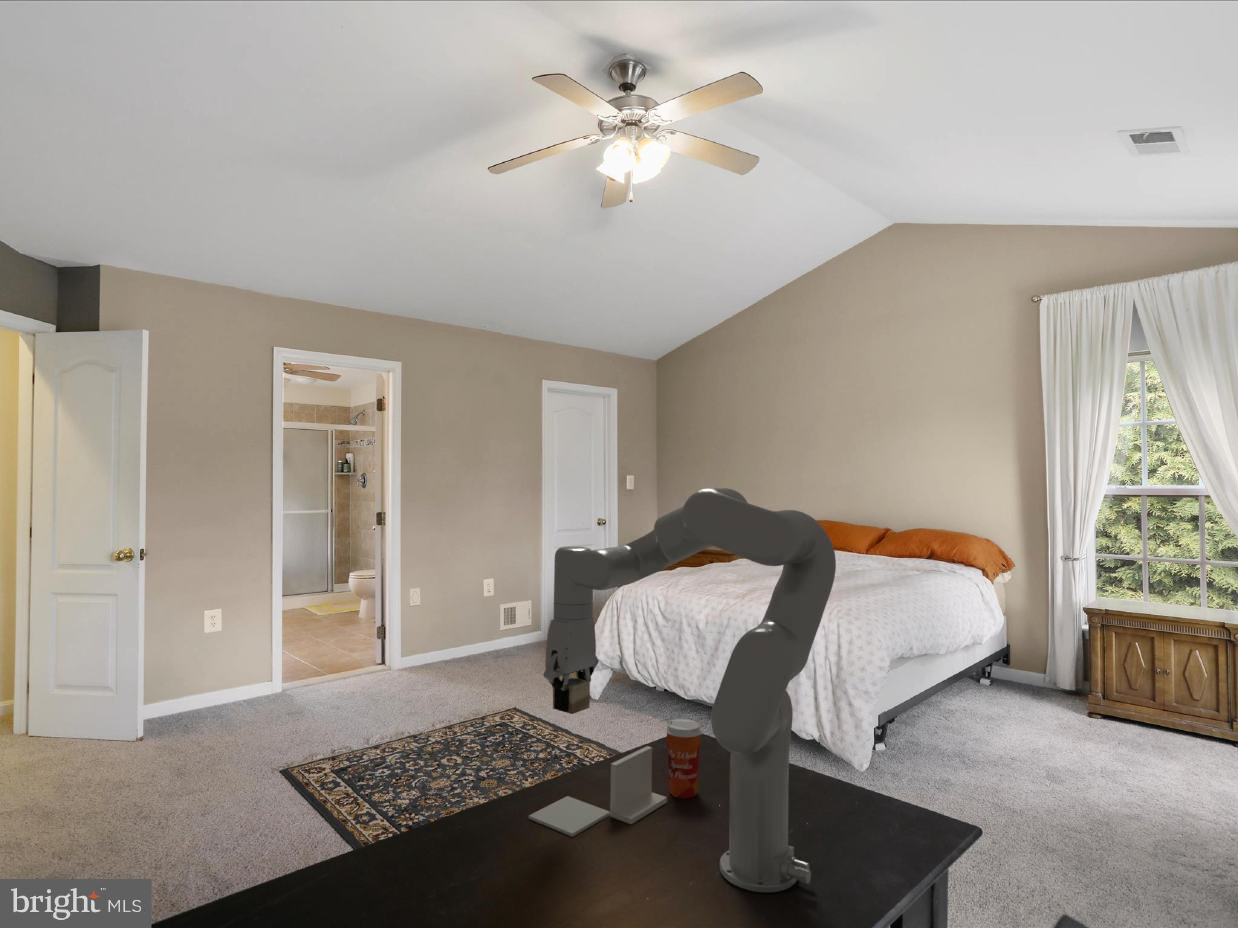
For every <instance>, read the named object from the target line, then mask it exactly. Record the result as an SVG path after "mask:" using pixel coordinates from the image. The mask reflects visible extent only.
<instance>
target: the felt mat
mask: <svg viewBox="0 0 1238 928" xmlns="http://www.w3.org/2000/svg"><path fill="white" fill-rule="evenodd" d="M609 816H610V811H609V810H606V809H605V808H604V809H603V808H601V807H598V806H595V805H593V804H590V803H588V802H585V801H582V800H581V799H577V798H574V797H572V796H569V795H567V796H565V797H563V798H561V799H559V800H557V801H554V802H553V803H550V804H548V805H547V806H544V807H543V808H541V809H539V810H537V811H535V812H533V813H531V814H529V815H528V819H529V820H531V821H534V822H535V823H538V824H541V825H542V826H546V827H548V828H550V829H552V830H555V831H557V832H560V833H562V834H565V835H567V836H569V837H571V838H573V837H575V836H576V835H579V834H580V833H581V832H583V831H585V830H587V829H588V828H590V827H592V826H594V825H596V824H597V823H599V822H601V821H603V820H604V819H607V818H608V817H609Z"/></svg>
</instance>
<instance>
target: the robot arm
mask: <svg viewBox="0 0 1238 928" xmlns="http://www.w3.org/2000/svg"><path fill="white" fill-rule="evenodd" d="M711 547H714V548H715V547H716V548H718V549H721V550H722V551H726V552H728V553H730V554H733V555H736V556H737V557H741V558H743V559H745V560H748V561H751V562H753V563H756V564H759V565H763V566H766V567H767V566H768V567H781V566H782V571H781V575H780V576H779V578H778V580H777V582H776V584H775V586H774V589H773V591H772V595H771V598H770V601H769V603H768V605H767V609H766V611H765V614H764V615H763V618H762V619H761V622H760V623H759V624H757V626H756V627H753V628H751V629H750V630H748V631H746V632H745V633H744V634H743V635H742V637H740V638H739V640H738V641H737V643H736V644H735V646H734V648H733V649H732V651H731V655H730V657H729V660H728V662H727V665H726V668H725V671H724V674H723V676H722V679H721V682H720V685H719V688H718V691H717V693H716V696H715V699H714V702H713V705H712V709H711V713H710V714H711V716H710V723H711V729H712V732H713V735H714V737H715V739H716V741H717V742H718V744H719V746H721V747H722V748H723V749H724V750H726V751H727V752H729V753H730V758H729V759H730V762H729V763H730V764H729V821H728V822H729V825H728V827H729V834H728V839H729V840H728V841H729V845H728V847H729V848H728V850H726V852H724V853H723V854H722V855H721V857H720V858H719V871H720V874H721V875H722V876H723V878H725V879H726V880H727V881H728V882H730V884H732V885H734V886H736V887H739V888H741V889H743V890H747V891H751V892H756V893H770V894H771V893H779V892H782V891H785V890H787V889H790V888H791V887H792V886H793V885H795V884H796V883H797V881H799V882H801V883H805V884H807V885H808V884H810V881H811V877H812V872H811V870H810V866H811V865H810V863H809V862H807V861H804V860H799V859H797V857H796V856H794V855H795V847H794V846H792V845H789V779H790V778H789V773H790V772H789V771H790V767H789V766H790V748H791V747H790V745H791V736H792V728H793V720H794V719H793V716H794V715H793V704H792V699H791V696H790V695H789V693H788V690H787V688H788V685H789V684H790V682H791V681H792V680H793V679H794V678H796V677H797V676H798V675H799V674H800V673H801V672H802V671H803V670H804V668H805V667H806V665H807V663H808V660H809V656H810V653H811V650H812V647H813V644H814V641H815V638H816V636H817V633H818V630H819V627H820V624H821V622H822V618H823V615H824V612H825V609H826V606H827V604H828V601H829V598H830V596H831V592H832V588H833V585H834V582H835V575H836V570H837V569H836V568H837V566H836V565H837V561H836V553H835V548H834V546H833V543H832V540H831V538H830V536H829V534H828V533H827V531H826V530H825V528H824V527H823V526H822V525H821V524H820V523H819V522H818V521H817V520H816V519H815V518H813V517H812V516H811V515H809V514H807V513H805V512H803V511H800V510H795V509H782V510H775V511H774V510H770V509H767V508H763V507H761V506H758V505H755V504H751V503H748V501H747V499H746V498H745V496H743V494H741V492H739V491H737V490H735V489H733V488H725V487H723V488H721V487H720V488H718V487H713V488H712V487H710V488H702V489H699V490H697V491H695V492H694V493H692V494H691V495H690V496H689V497H688V498H687V500H686V501H685V502H684V505H683V506H680V507H679V508H677V509H675V510H672V511H671V512H669V513H666V514H664V515H662V516H660V517H658V518H657V519H656V520H655V522H654V525H653V530H651V531H650V532H648V533H646V534H645V535H643V536H641V537H639V538H637V539H635V540H632V541H630V542H629V543H625V544H624V545H620V546H613V547H607V548H606V547H605V548H600V549H591V548H589V547H587V546H586V547H585V546H574V545H573V546H562V547H559V548H557V550H555V553H554V568H553V569H554V572H553V573H554V575H553V576H554V577H553V579H554V580H553V618H552V619H550V622H549V626H548V631H547V637H546V638H547V639H546V648H545V669H544V672H543V678H545V679H546V680H547V681H548V682H549V684H551V688H552V689H553V688H554V689H555V690H554V708H555V709H554V710H556V709H557V710H556V711H559V710H560V711H559V712H563V711H564V712H563V713H566V712H567V711H568V710H569V690H566V689H567V684H568V679H569V677H570V674H574V673H575V678H577V679H581V680H585V681H589V682H590V683H591V682H592V675H593V674H594V671H595V669H596V667H597V666H598V664H599V662H600V660H599V659H598V657H597V655H596V654H597V645H596V644H597V643H596V640H597V638H596V629H595V627H596V626H595V620H594V616H593V614H594V613H593V612H594V611H593V610H594V609H593V608H594V604H593V603H594V590H595V591H607V590H609V589H615V588H619V587H623V586H627V585H631V584H633V583H634V584H635V583H636V582H638V581H640V580H641V581H642V580H643V579H645V578H647V577H650V576H652V575H654V574H656V573H658V572H661V571H662V570H664V569H666V568H668V567H670V566H672V565H675V564H677V563H678V562H680V561H683V560H685V559H687V558H690V557H691V556H694V555H695V554H697V553H699V552H702V551H705V550H707V549H710V548H711ZM561 677H562V679H561ZM561 680H562V681H561Z"/></svg>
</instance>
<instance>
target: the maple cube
mask: <svg viewBox="0 0 1238 928" xmlns="http://www.w3.org/2000/svg"><path fill="white" fill-rule="evenodd" d="M560 680H561V681H562V679H560ZM554 690H555V689H554V688H552V709H553V710H556V711H559V712H561V711H560V710H557V709H555V708H554ZM566 690H569V710H568V711H567V712H564V711H562V712H563V713H567V714H570V715H574V714H577V713H580V712H582V711H585V710H587V709H590V704H591V703H590V700H591V699H590V697H591V696H590V693H591V682H589V681H585V680H581V679H577V678H576V677H573V676H569V679H568V684H567V689H566Z"/></svg>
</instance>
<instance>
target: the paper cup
mask: <svg viewBox="0 0 1238 928" xmlns="http://www.w3.org/2000/svg"><path fill="white" fill-rule="evenodd" d="M665 733H666V748H667V749H666V750H667V763H668V764H667V765H668V767H667V768H668V769H667V770H668V785H669V793H670V795H671V794H672V795H671V796H673V797H675V798H678V797H679V799H690V798H689V797H691V798H693V796H694V797H696V796H697V792H698V783H699V767H700V753H701V752H700V750H701V736H702V734H703V733H704V730H703V729H702V727H701V724H700V723H699V722H697V721H695V720H692V719H685V718H680V719H679V718H678V719H672V720H670V721H669V722H668V724H667V725H666V727H665Z"/></svg>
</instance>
